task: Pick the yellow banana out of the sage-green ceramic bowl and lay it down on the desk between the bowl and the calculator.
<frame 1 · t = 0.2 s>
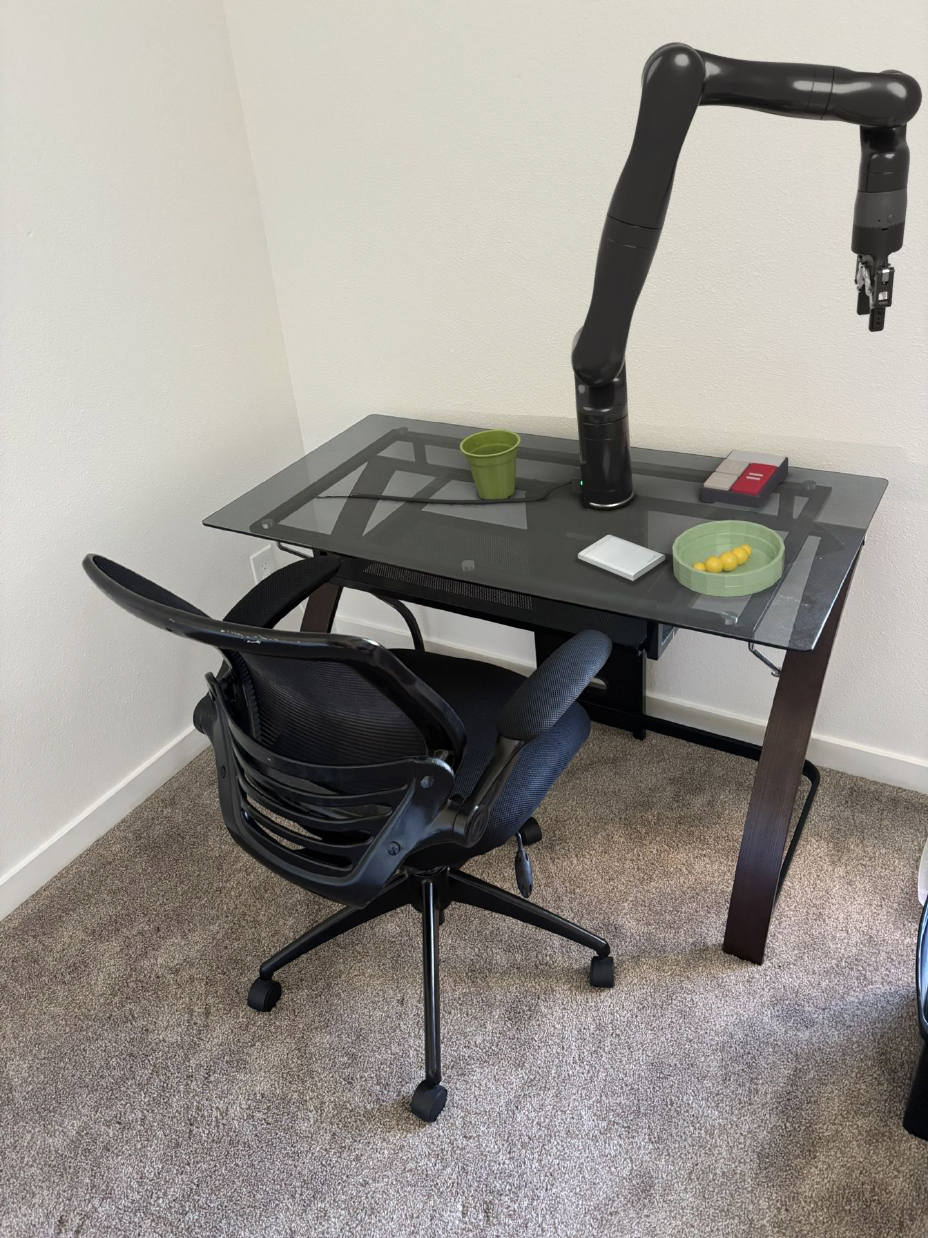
hand: (869, 322, 155), 29 cm above the table, tool pointing down, fingers open, 8 cm apart
calculator: (744, 489, 175), on the table
bowl: (727, 570, 153), on the table
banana: (728, 569, 152), point 1 cm above the table, touching bowl
hard drive: (621, 562, 160), on the table
plant pot: (497, 494, 188), on the table
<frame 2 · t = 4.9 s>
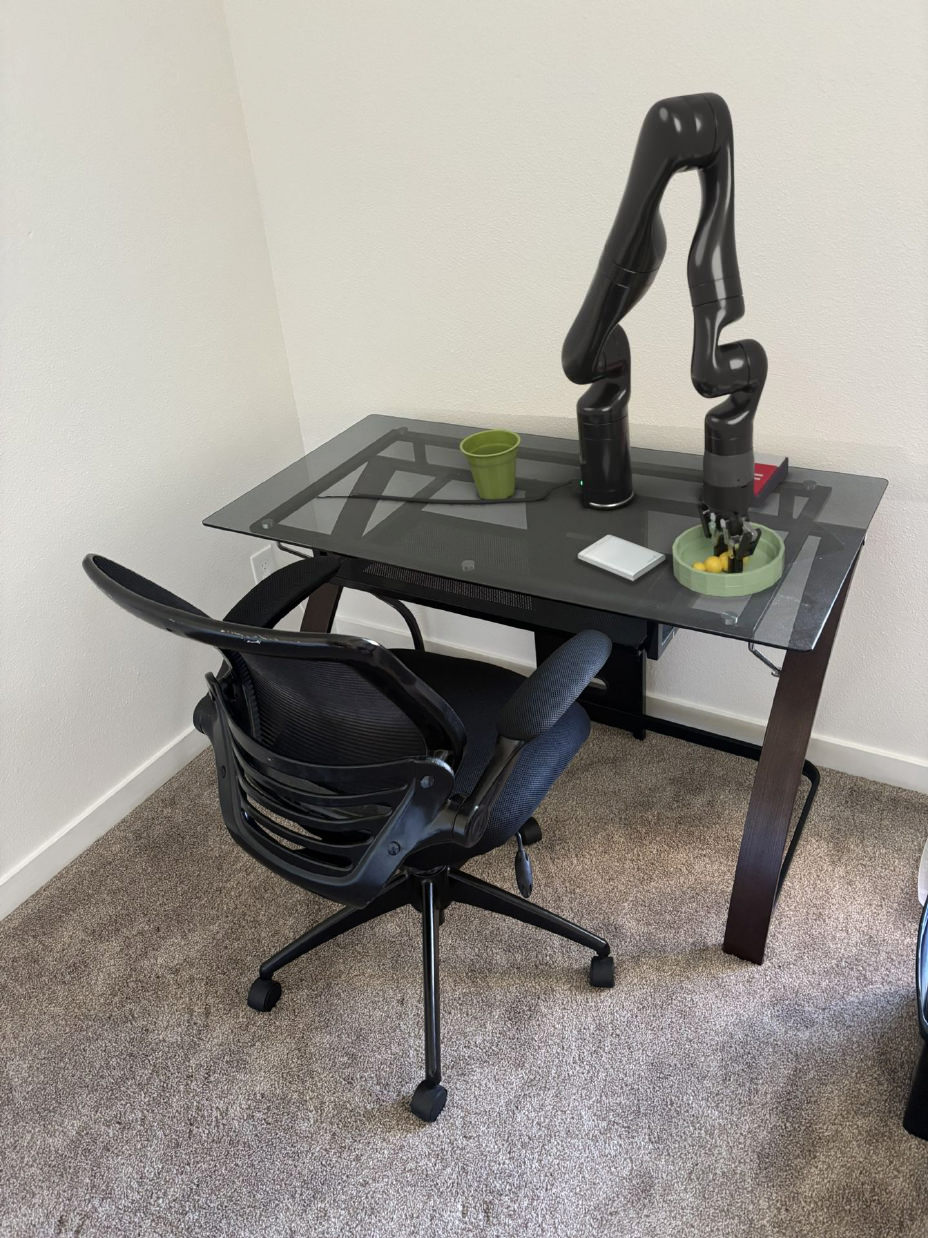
hand: (728, 569, 152), 1 cm above the table, tool pointing down, fingers closed on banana, 3 cm apart
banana: (728, 569, 152), point 1 cm above the table, touching bowl, gripper
everything else where it was.
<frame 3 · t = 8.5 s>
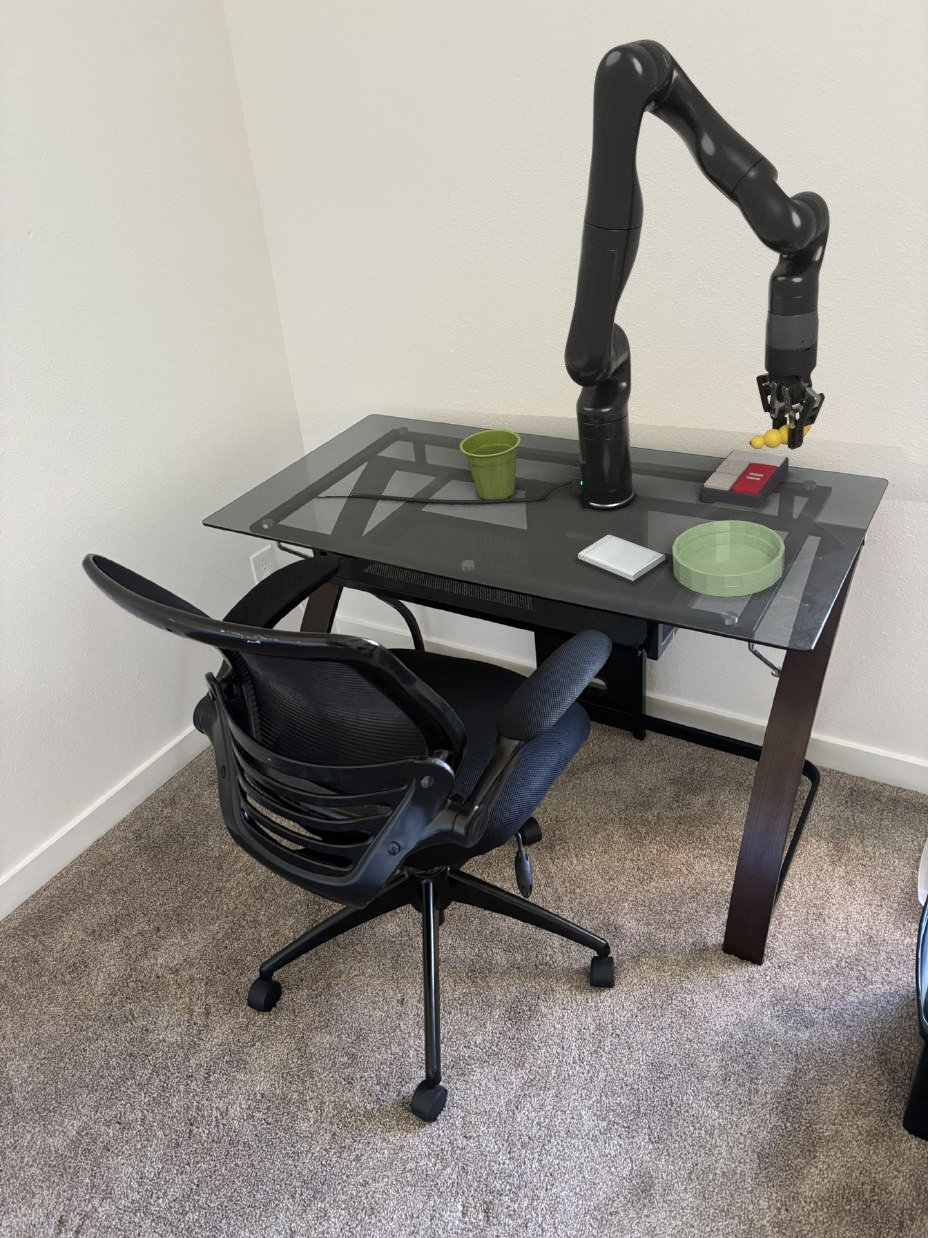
hand: (787, 443, 151), 16 cm above the table, tool pointing down, fingers closed on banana, 3 cm apart
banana: (787, 443, 151), point 16 cm above the table, touching gripper
everything else where it was.
when the fingers open (0 cm above the table, at t = 12.0 s): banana stays where it is, on the table.
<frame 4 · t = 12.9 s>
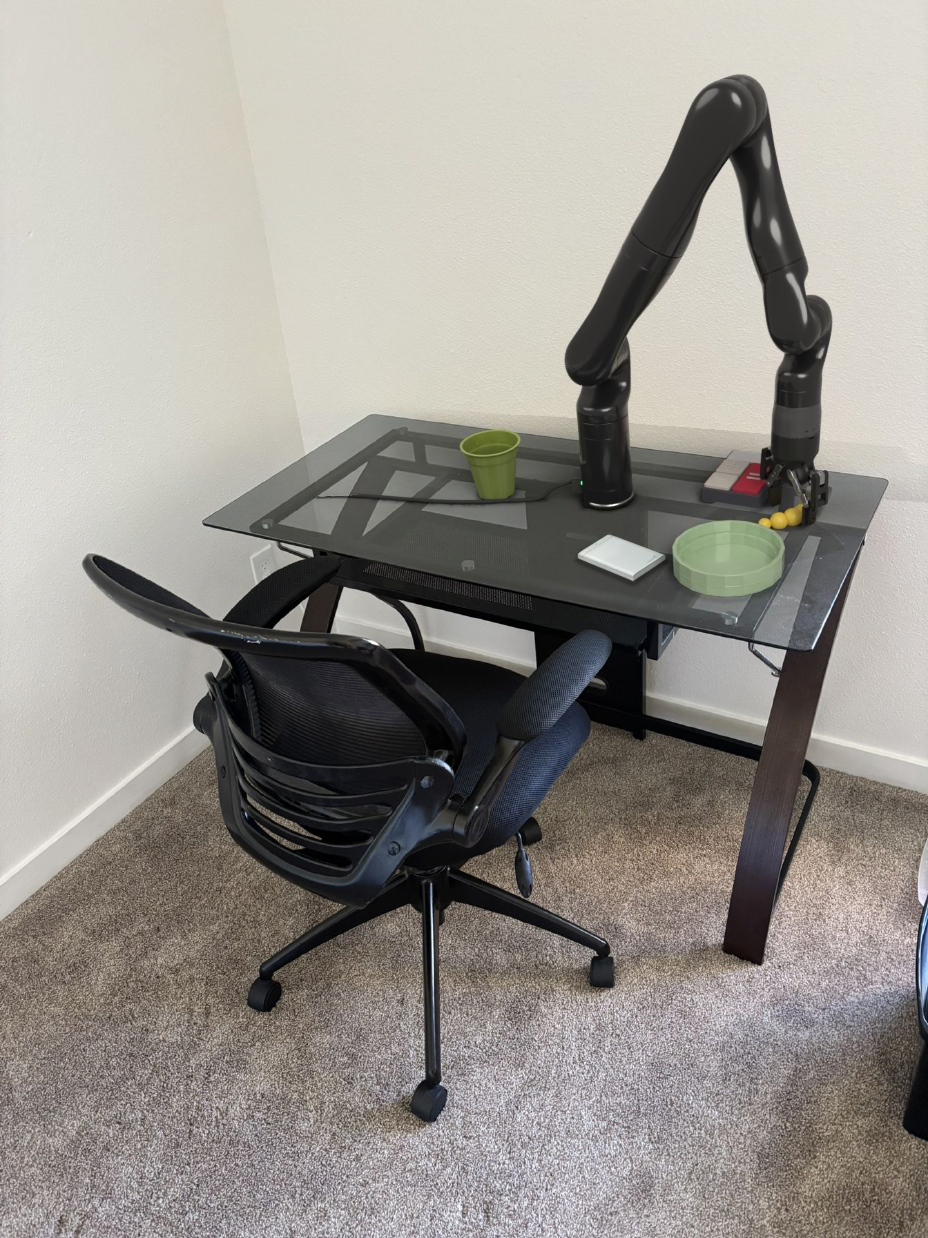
hand: (791, 514, 160), 2 cm above the table, tool pointing down, fingers open, 8 cm apart
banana: (792, 525, 161), on the table
everything else where it was.
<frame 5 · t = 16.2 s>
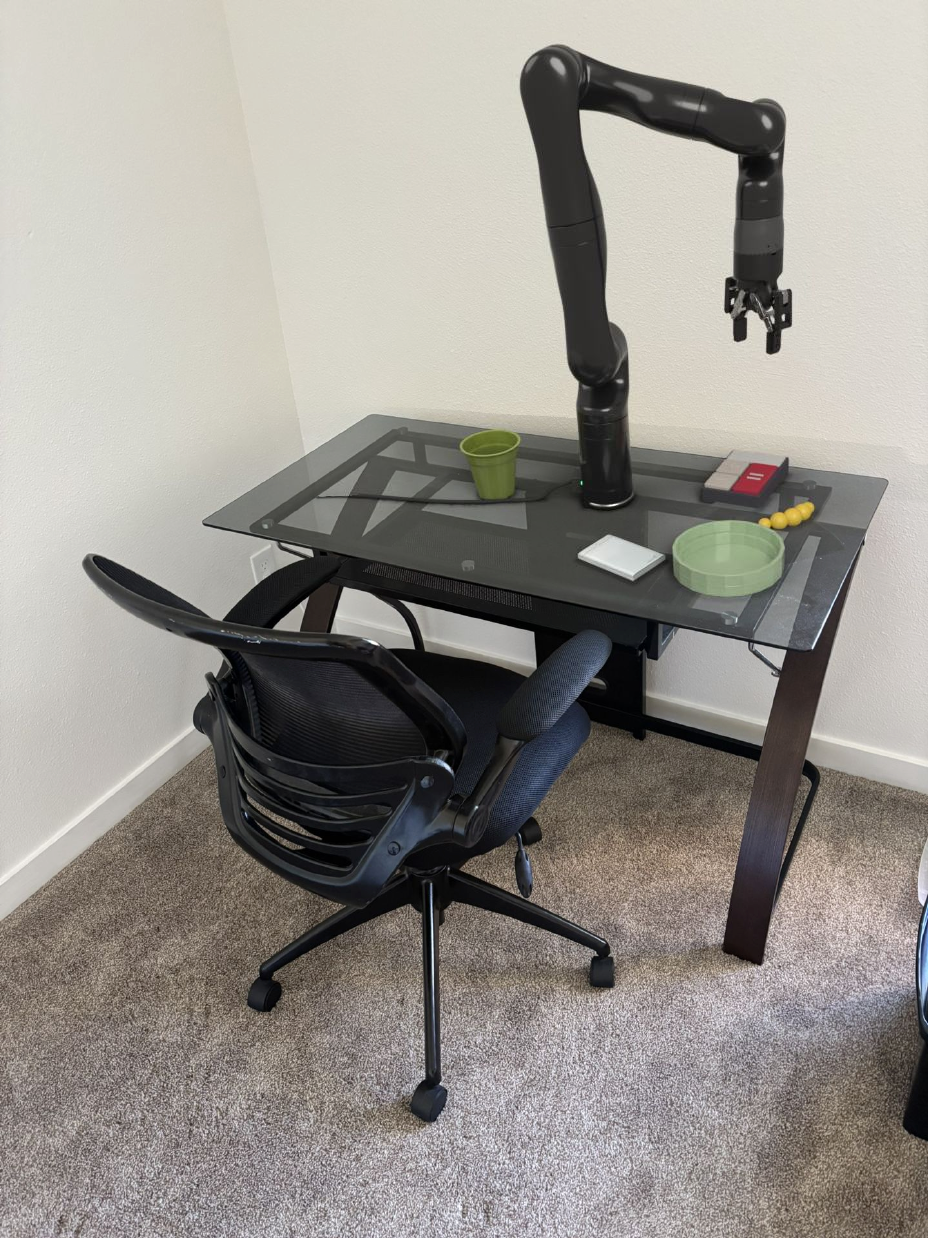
hand: (756, 346, 156), 28 cm above the table, tool pointing down, fingers open, 8 cm apart
nothing on the table moved.
at the end: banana inside the target area (0.1 cm from its centre), on the table; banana touching table; the gripper is holding nothing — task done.
